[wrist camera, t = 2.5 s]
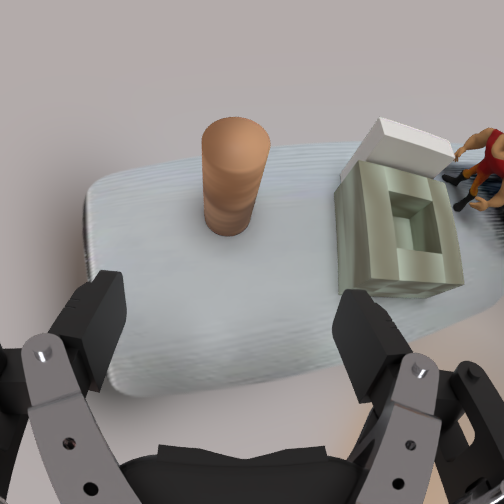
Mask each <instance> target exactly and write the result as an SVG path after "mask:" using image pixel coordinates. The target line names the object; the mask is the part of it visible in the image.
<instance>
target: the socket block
mask: <svg viewBox="0 0 504 504" xmlns="http://www.w3.org/2000/svg"><path fill="white" fill-rule="evenodd" d="M334 201H335V215H336V231H337V252H338V286H339V295H342V294H343V292H344V290H345V289H362V290H366V291H367V292H368V294H369V295H370V296H372V297H396V298H428V297H431V296H434V295H437V294H440V293H443V292H445V291H448V290H451V289H454V288H456V287H459V286H462V285H464V277H463V269H462V262H461V255H460V249H459V243H458V238H457V232H456V227H455V223H454V218H453V213H452V209H451V205H450V200H449V196H448V193H447V189H446V185H445V183H442V182H439V181H436V180H433V179H430V178H426V177H423V176H419V175H416V174H412V173H409V172H405V171H401V170H398V169H394V168H390V167H386V166H382V165H378V164H374V163H370V162H366V161H361V160H358V161H357V162H356V164H355V165H354V167H353V168H352V169H351V171H350V172H349V173H348V175H347V176H346V177H345V179H344V180H343V182H342V183H341V184H340V186H339V187H338V188H337V190H336V191H335V192H334Z"/></svg>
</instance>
